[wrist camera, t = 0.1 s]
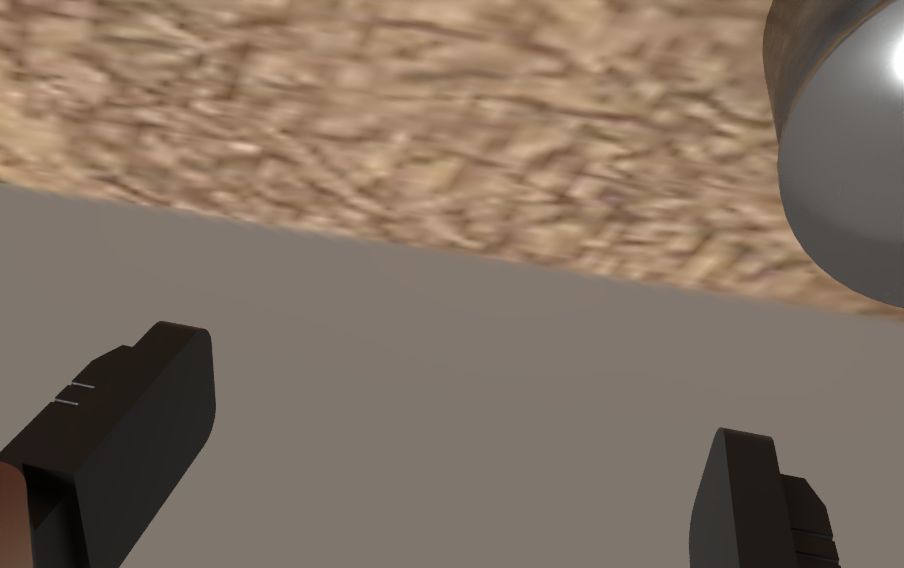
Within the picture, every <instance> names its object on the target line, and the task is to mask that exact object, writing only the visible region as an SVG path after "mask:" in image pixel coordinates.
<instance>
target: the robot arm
mask: <svg viewBox="0 0 904 568" xmlns="http://www.w3.org/2000/svg"><path fill="white" fill-rule="evenodd" d="M215 411H216V401H215V386H214V371H213V358H212V343H211V337H210V334H209V332H208V331H207V330H206V329H202V328H197V327H192V326H187V325H181V324H176V323H171V322H165V321H159V322H157V323H156V324H155V325H154V326H153V327H152V328H151V329H150V330H149V331H148V332H147V333H146V334H145V335H144V336H143V337H142V338H141V339H140V340H139V341H138V342H137V343H136V345H134V346H133V347H129V346H125V345H122V346H120V347H118V348H116V349H114V350H112V351H110V352H108V353H106V354H104V355H102V356H100V357H98V358H96V359H95V360H93V361H91V362H90V364H89V365H87V366H86V367H85V368H84V369H83V371H81V373H79V374H78V375H77V376H76V378H74V379H73V380H72V384H71V386H70V385H68V386H66V387H65V388H64V389H63V390H62V392H60V393H59V394H58V395H57V396H56V397H55V401H54V402H50V403H49V404H48V405H47V406H46V407H45V408H44V409H43V410H42V411H41V412H40V413H39V414H38V415H37V416H36V417H35V418H34V419H33V420H32V421H31V422H30V423H29V424H28V425H27V426H26V427H25V428H24V429H23V430H22V431H21V432H20V433H19V434H18V435H17V436H16V437H15V438H14V439H13V440H12V441H11V442H10V443H9V444H8V445H7V446H6V447H5V448H4V449H3V450H2V451H1V452H0V568H119V567H120V565H121V564H122V562H123V561H124V560H125V558H126V557H127V555H128V554H129V552H130V551H131V550H132V548H133V546H134V545H135V544H136V542H137V541H138V539H139V538H140V537H141V535H142V534H143V532H144V531H145V529H146V528H147V527H148V525H149V524H150V522H151V521H152V519H153V518H154V517H155V515H156V514H157V512H158V511H159V509H160V508H161V507H162V505H163V504H164V502H165V501H166V499H167V498H168V497H169V495H170V493H171V492H172V491H173V489H174V488H175V487H176V485H177V484H178V482H179V481H180V479H181V478H182V476H183V475H184V474H185V472H186V471H187V469H188V467H189V466H190V465H191V464H192V462H193V461H194V459H195V458H196V456H197V455H198V453H199V452H200V451H201V449H202V448H203V446H204V445H205V443H206V442H207V440H208V438H209V435H210V433H211V430H212V427H213V423H214V419H215ZM832 538H833V533H832V529H831V525H830V521H829V517H828V514H827V510H826V507H825V505H824V504H823V502H822V501H821V500H820V498H819V497H818V496H817V495H816V493H815V492H814V490H813V489H812V488H811V487H810V485H809V484H808V482H807V481H806V480H805V479H804V478H799V477H794V476H789V475H784V474H780V471H779V466H778V461H777V456H776V451H775V446H774V442H773V439H772V438H771V437H769V436H764V435H758V434H753V433H748V432H742V431H737V430H732V429H726V428H719V429H718V430H717V432H716V434H715V437H714V440H713V443H712V446H711V450H710V453H709V457H708V460H707V463H706V466H705V469H704V473H703V476H702V479H701V483H700V486H699V489H698V492H697V496H696V499H695V503H694V507H693V511H692V516H691V523H690V533H689V554H690V568H841V566H840V565H838V562H839V557H838V553H837V549H836V545H835V542H834V541H832Z"/></svg>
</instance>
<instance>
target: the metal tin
mask: <svg viewBox="0 0 904 568" xmlns="http://www.w3.org/2000/svg"><path fill="white" fill-rule="evenodd" d="M763 64H764V73H765V78H766V83H767V88H768V93H769V99H770V104H771V109H772V114H773V119H774V124H775V130H776V135H777V140H778V145H779V146H778V161H777V170H778V181H779V189H780V195H781V199H782V203H783V207H784V211H785V215H786V218H787V220H788V222H789V224H790V227H791V229H792V231H793V233H794V235H795V237H796V238H797V240H798V241H799V243H800V244H801V246H802V247H803V249H804V251H805V252H806V253H807V254H808V255H809V256H810V257H811V258H812V259H813V261H814V262H815V263H816V264H817V265H818V266H819V267H820V268H821V269H823V270H824V271H825V272H826V273H828V274H829V275H830V276H831V277H832V278H834V279H835V280H837V281H838V282H840V283H842V284H843V285H845V286H847V287H848V288H850V289H851V290H853V291H856V292H858V293H860V294H862V295H864V296H867V297H869V298H871V299H874V300H877V301H880V302H883V303H886V304H890V305H893V306H897V307H902V308H904V0H773V2H772V5H771V8H770V11H769V13H768V16H767V20H766V26H765V31H764V36H763Z"/></svg>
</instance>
